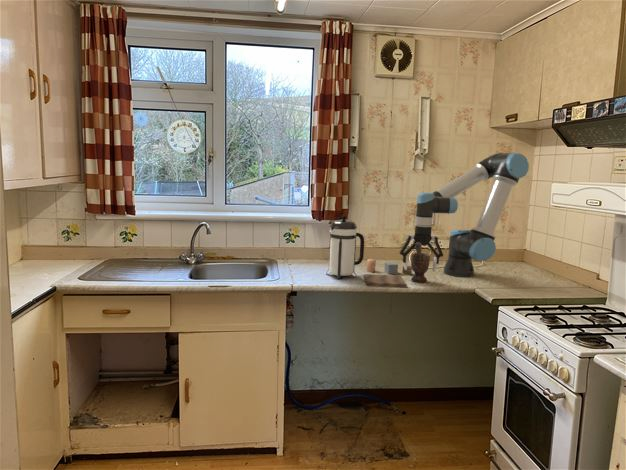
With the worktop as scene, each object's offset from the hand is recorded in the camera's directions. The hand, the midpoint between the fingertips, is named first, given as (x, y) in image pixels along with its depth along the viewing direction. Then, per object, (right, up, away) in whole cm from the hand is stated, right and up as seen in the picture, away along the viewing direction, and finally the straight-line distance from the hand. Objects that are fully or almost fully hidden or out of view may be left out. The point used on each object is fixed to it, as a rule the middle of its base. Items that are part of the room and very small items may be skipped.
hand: (419, 270), depth 215 cm
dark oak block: (-3, -3, +16) cm, 16 cm away
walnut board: (-17, -5, -2) cm, 18 cm away
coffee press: (-36, -3, +7) cm, 37 cm away
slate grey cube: (-11, -3, +17) cm, 20 cm away
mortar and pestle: (0, -6, +1) cm, 6 cm away
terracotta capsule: (-21, -2, +19) cm, 28 cm away
